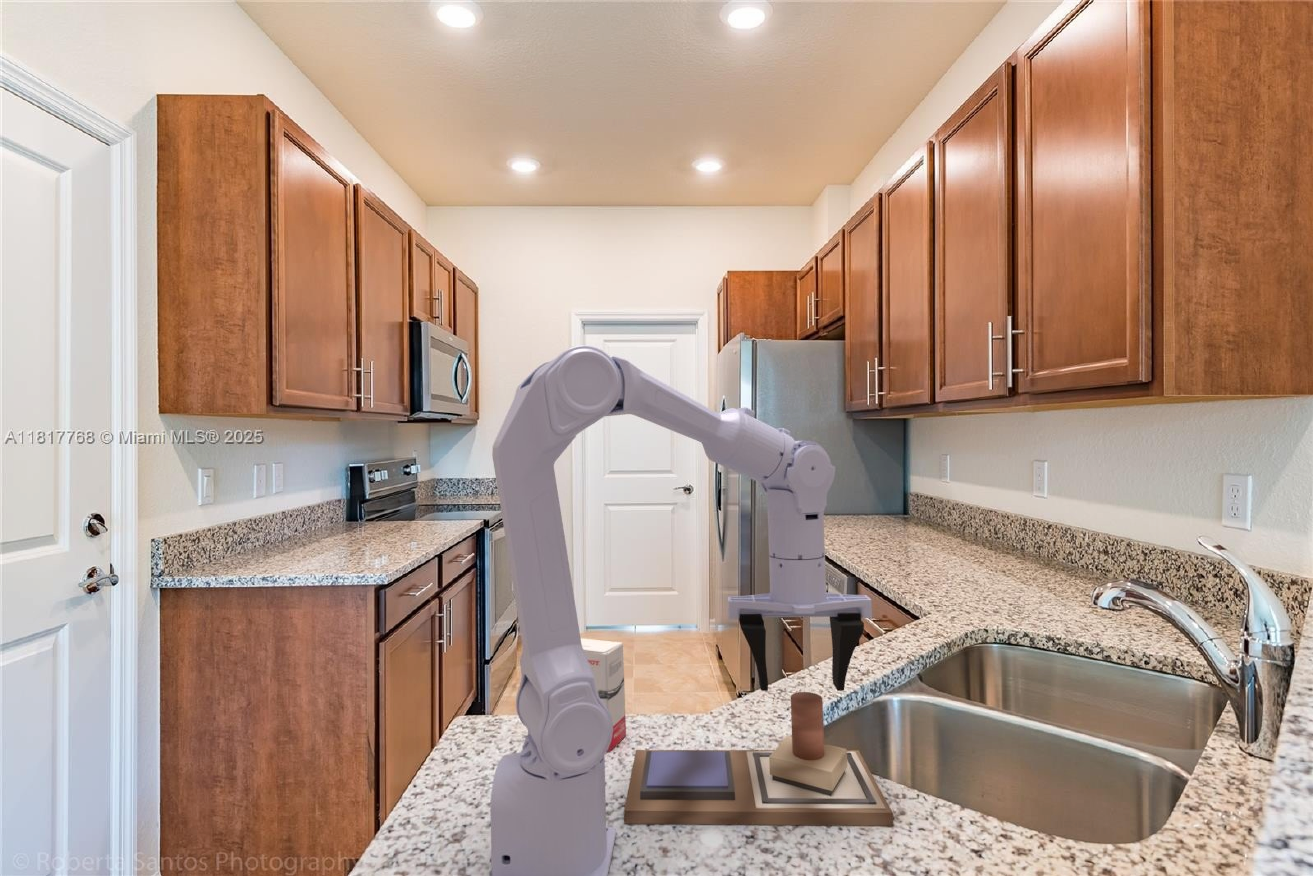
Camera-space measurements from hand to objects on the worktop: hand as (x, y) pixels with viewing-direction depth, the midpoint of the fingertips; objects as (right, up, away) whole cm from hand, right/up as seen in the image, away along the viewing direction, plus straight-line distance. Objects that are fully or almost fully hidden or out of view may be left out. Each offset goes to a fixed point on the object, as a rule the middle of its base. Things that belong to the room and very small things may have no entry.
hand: (800, 687), depth 64 cm
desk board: (-5, -11, 0) cm, 12 cm away
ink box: (-23, -12, +12) cm, 29 cm away
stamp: (+1, -9, 0) cm, 9 cm away
